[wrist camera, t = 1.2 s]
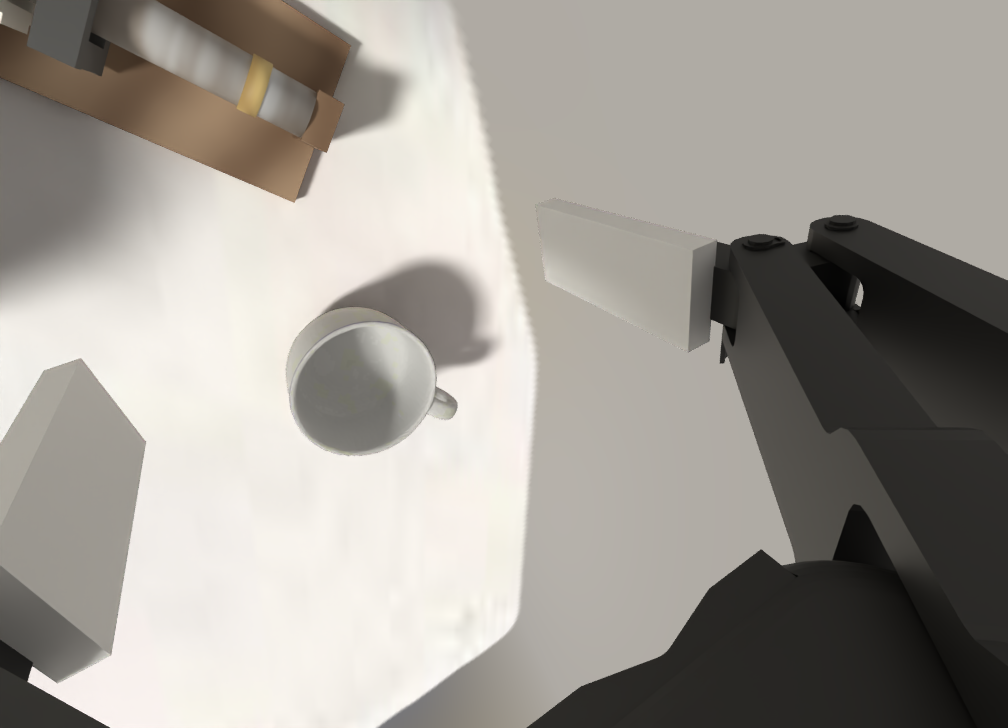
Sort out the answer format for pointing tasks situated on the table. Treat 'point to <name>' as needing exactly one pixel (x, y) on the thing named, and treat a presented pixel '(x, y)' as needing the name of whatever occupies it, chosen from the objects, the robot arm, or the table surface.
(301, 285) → the table surface
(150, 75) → the pipe rig
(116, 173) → the table surface
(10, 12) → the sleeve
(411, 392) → the teacup
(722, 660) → the robot arm
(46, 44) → the charcoal slab
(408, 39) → the table surface
